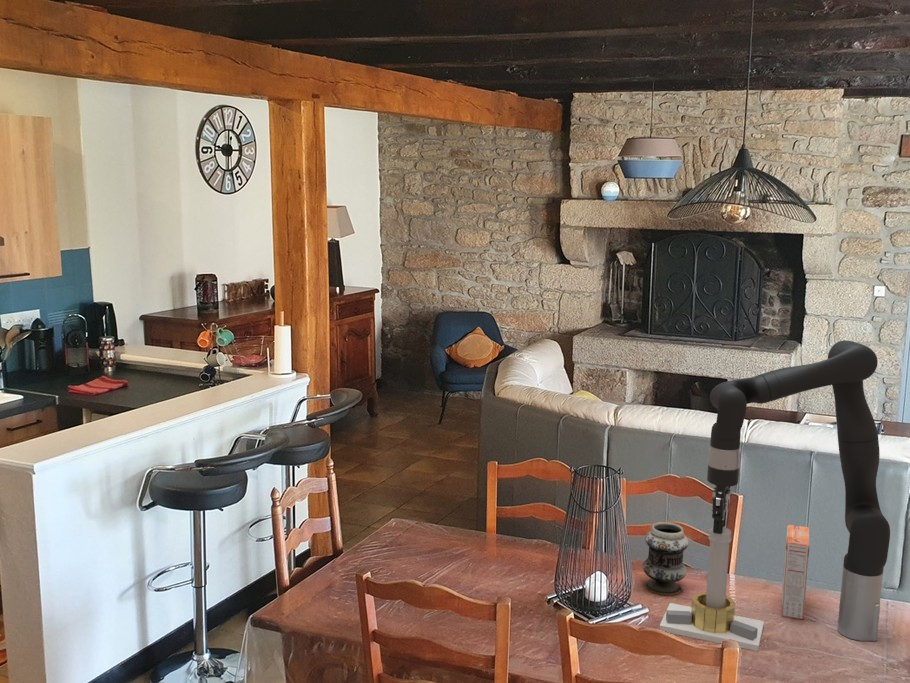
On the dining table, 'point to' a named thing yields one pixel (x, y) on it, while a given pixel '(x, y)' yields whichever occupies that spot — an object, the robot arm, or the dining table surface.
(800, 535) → the cracker box
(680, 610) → the shaft base
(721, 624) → the collar
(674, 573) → the apothecary jar
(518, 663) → the dining table surface
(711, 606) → the pipe
